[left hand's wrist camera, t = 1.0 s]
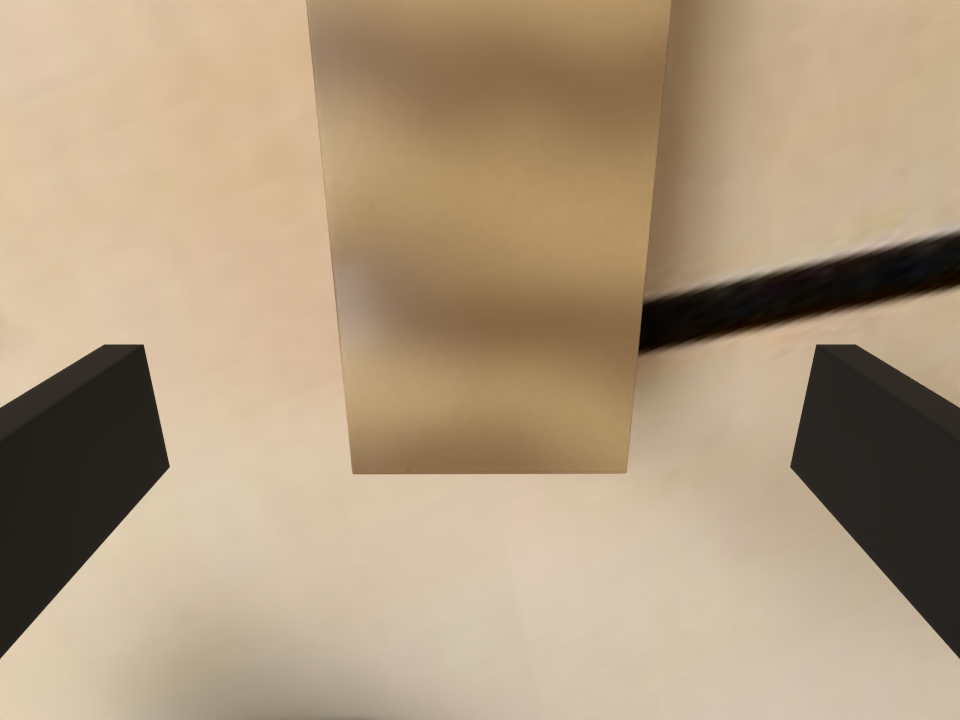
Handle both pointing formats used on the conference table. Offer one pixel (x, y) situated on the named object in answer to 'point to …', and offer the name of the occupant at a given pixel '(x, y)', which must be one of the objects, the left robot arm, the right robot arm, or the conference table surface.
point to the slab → (489, 225)
